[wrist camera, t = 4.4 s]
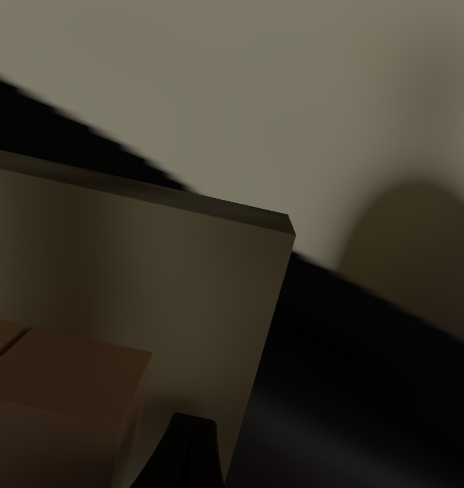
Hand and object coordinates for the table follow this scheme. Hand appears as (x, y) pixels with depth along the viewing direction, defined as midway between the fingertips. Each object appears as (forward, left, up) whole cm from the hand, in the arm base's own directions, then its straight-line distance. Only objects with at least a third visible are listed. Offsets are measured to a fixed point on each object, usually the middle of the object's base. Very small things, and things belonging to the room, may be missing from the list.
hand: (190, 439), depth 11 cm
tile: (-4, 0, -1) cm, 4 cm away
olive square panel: (-5, 0, -4) cm, 6 cm away
